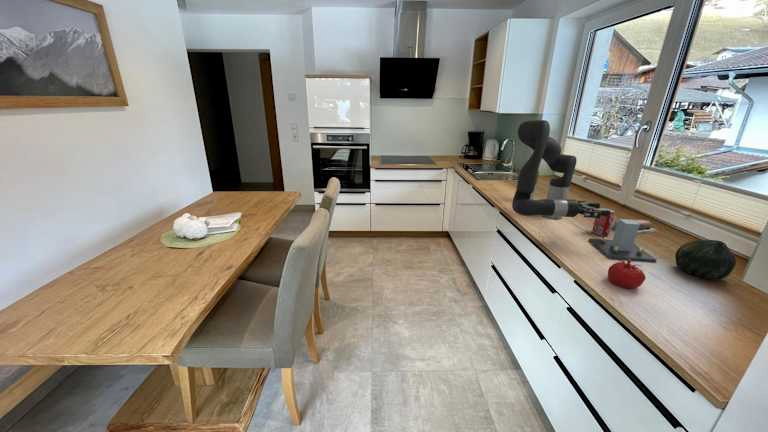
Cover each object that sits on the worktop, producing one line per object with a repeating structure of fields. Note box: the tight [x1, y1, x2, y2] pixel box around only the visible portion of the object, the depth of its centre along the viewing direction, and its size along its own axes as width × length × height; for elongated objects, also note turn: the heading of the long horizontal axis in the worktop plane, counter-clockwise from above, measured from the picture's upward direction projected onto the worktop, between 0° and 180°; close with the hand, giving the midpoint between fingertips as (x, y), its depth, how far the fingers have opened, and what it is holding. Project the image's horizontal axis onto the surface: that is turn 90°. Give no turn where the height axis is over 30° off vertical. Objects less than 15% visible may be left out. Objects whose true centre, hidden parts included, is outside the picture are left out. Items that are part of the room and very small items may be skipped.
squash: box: [674, 239, 737, 281], centre depth 110 cm, size 14×15×15 cm
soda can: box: [591, 207, 616, 237], centre depth 144 cm, size 7×7×12 cm
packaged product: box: [611, 219, 658, 235], centre depth 150 cm, size 18×5×10 cm
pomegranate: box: [607, 259, 647, 289], centre depth 104 cm, size 10×10×9 cm
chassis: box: [588, 236, 658, 263], centre depth 128 cm, size 17×17×4 cm
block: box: [611, 218, 640, 251], centre depth 127 cm, size 5×5×12 cm
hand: (604, 209), depth 128 cm, fingers open, 8 cm apart
